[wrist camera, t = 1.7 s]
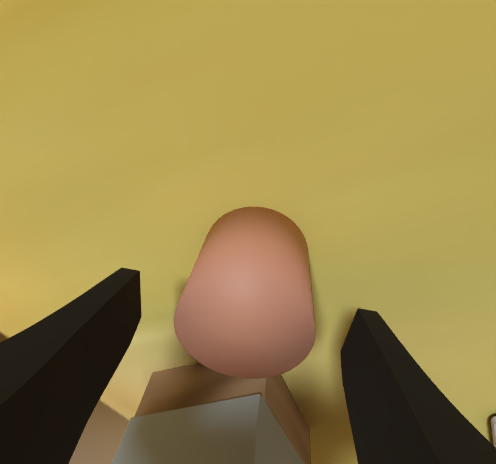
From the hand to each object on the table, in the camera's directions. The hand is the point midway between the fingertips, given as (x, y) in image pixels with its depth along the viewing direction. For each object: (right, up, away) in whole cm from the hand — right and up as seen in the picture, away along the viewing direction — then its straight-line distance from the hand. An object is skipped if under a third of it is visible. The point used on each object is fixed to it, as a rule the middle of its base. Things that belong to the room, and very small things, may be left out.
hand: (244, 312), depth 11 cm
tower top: (-1, -8, +6) cm, 10 cm away
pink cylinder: (0, +2, +3) cm, 4 cm away
